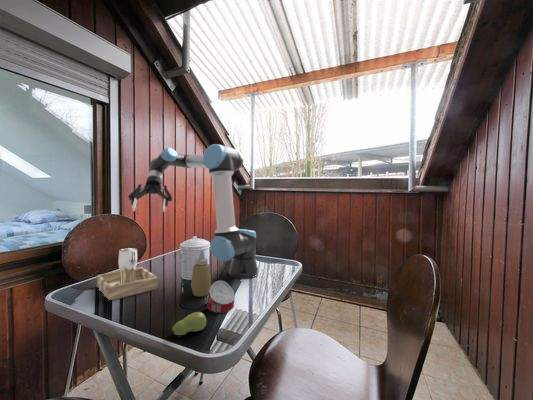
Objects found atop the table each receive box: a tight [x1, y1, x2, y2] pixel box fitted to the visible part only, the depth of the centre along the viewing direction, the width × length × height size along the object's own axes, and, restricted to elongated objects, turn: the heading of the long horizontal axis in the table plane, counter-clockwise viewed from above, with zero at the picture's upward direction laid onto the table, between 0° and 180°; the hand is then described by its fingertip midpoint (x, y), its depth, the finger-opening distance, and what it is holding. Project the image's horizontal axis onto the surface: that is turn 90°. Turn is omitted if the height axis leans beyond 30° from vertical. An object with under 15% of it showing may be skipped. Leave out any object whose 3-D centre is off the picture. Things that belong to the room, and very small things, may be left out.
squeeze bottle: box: [190, 249, 212, 298], centre depth 101 cm, size 8×8×18 cm
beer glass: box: [117, 247, 138, 285], centre depth 104 cm, size 7×7×15 cm
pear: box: [171, 311, 207, 336], centre depth 75 cm, size 6×5×10 cm
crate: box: [96, 266, 159, 302], centre depth 105 cm, size 18×18×5 cm
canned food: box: [206, 279, 236, 313], centre depth 92 cm, size 11×10×10 cm
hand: (148, 210), depth 122 cm, fingers open, 13 cm apart
